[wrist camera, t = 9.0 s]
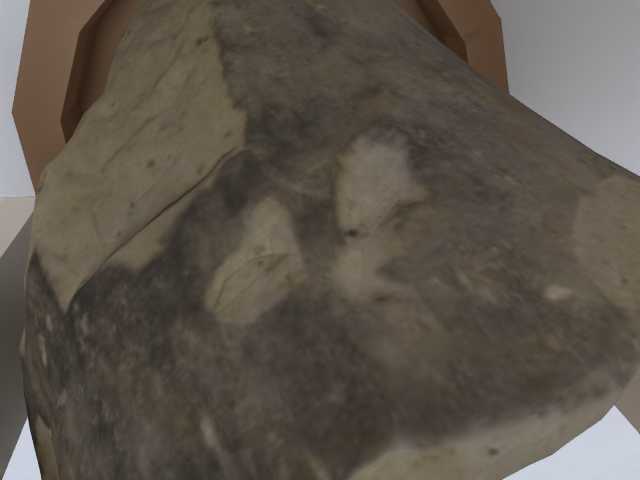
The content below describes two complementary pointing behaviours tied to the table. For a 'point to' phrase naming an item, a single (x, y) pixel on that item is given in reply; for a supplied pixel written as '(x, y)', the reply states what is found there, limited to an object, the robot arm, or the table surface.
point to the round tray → (112, 21)
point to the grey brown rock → (320, 260)
